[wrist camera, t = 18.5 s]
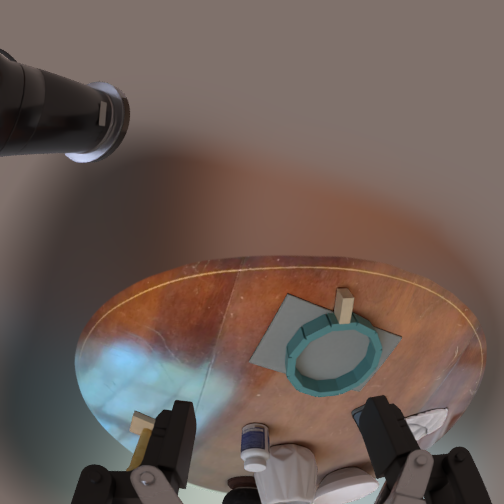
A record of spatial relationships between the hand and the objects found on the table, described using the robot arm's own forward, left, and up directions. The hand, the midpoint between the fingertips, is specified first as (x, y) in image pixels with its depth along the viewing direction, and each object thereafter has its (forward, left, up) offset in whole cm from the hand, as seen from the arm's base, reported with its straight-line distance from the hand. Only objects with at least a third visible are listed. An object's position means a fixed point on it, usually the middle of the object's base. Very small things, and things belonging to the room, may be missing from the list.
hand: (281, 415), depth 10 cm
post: (-6, -47, -25) cm, 53 cm away
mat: (+16, -11, -25) cm, 32 cm away
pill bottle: (+14, -35, -25) cm, 45 cm away
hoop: (+16, -9, -25) cm, 31 cm away
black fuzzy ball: (+25, -65, -25) cm, 74 cm away
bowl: (+50, -53, -25) cm, 77 cm away
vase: (+25, -43, -25) cm, 56 cm away
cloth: (+56, -28, -25) cm, 67 cm away
